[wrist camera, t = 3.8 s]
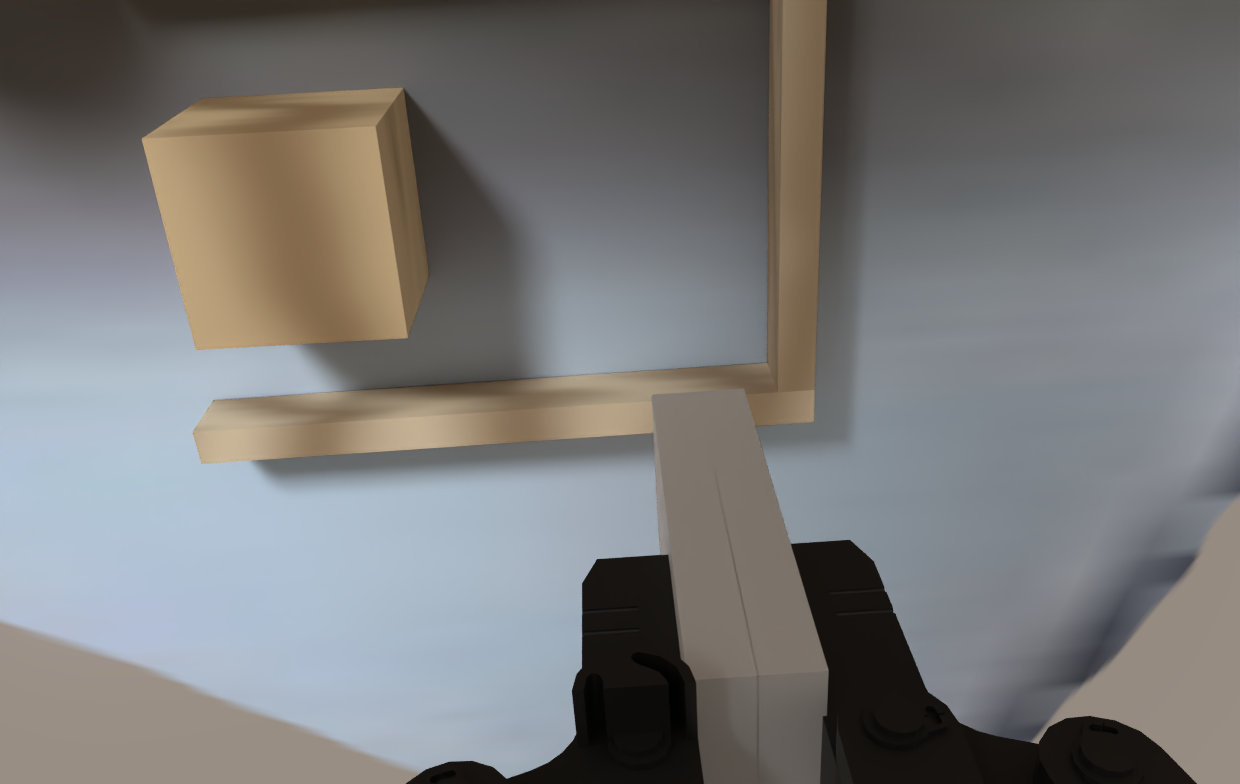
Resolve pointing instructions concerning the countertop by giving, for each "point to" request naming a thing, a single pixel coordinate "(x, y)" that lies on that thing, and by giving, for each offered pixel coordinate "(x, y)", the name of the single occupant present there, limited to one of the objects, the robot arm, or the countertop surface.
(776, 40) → the wooden l-shaped bracket
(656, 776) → the robot arm
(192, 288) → the oak block
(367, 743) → the countertop surface
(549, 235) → the countertop surface
